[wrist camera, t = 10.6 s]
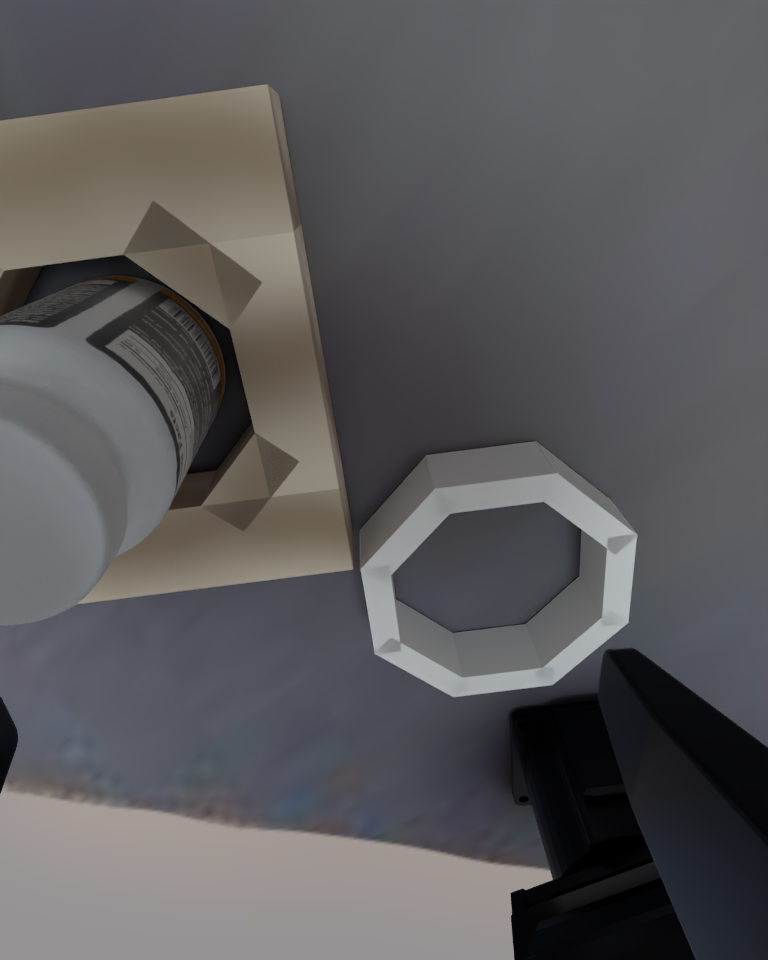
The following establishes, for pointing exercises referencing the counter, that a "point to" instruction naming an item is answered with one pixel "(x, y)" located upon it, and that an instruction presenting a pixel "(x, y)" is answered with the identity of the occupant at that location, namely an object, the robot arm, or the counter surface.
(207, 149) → the socket plate
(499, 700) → the counter surface
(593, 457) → the counter surface
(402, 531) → the octagonal ring
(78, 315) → the pill bottle
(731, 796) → the robot arm
